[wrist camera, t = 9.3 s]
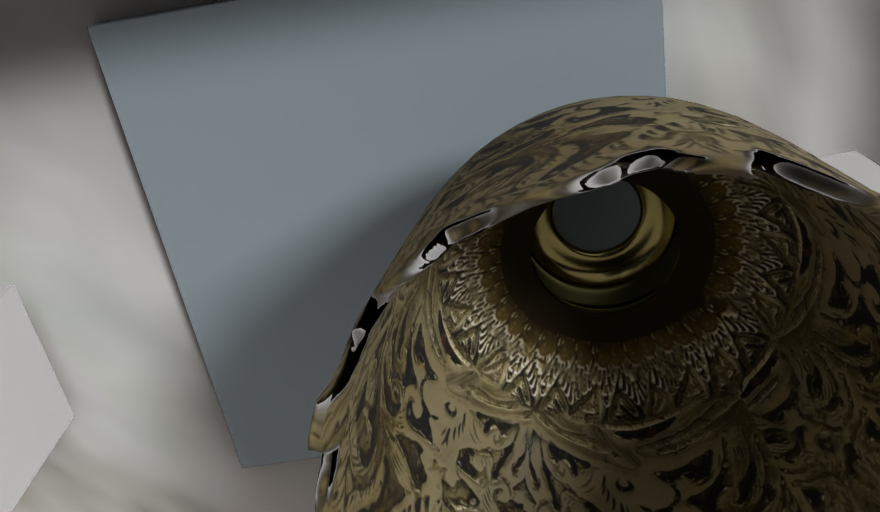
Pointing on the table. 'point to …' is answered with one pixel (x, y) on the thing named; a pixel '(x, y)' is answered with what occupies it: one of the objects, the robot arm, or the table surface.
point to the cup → (619, 332)
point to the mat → (340, 158)
